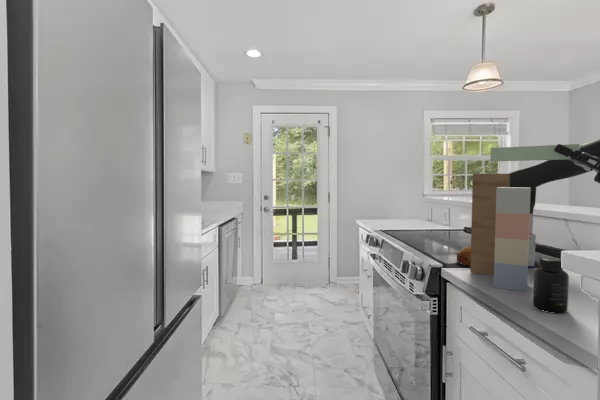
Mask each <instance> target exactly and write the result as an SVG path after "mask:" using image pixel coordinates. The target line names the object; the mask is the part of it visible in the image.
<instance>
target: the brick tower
mask: <svg viewBox="0 0 600 400" xmlns="http://www.w3.org/2000/svg"><path fill="white" fill-rule="evenodd" d="M530 190H531V187H498V188H496V222H495V257H494V275H493V288H499V289H507V290H514V291H520V292H521V291H522V292H527V290H528V274H529V271H528V270H529V268H528V249H529V219H530Z"/></svg>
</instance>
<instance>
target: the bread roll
mask: <svg viewBox="0 0 600 400" xmlns="http://www.w3.org/2000/svg"><path fill="white" fill-rule="evenodd" d="M457 262H458V263H462V264H464V265H463V266H465V265H468V266H467V267H471V245H469V246H464V247H462V248H461V249H460V250H459V251H457V253H456V263H457ZM458 263H457V264H458Z"/></svg>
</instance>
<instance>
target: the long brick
mask: <svg viewBox="0 0 600 400" xmlns="http://www.w3.org/2000/svg"><path fill="white" fill-rule="evenodd" d="M557 145H558V144H554V145H553V144H551V145H550V144H549V145H548V144H547V145H531V146H530V145H529V146H528V145H527V146H510V147H509V146H505V147H502V146H501V147H490V162H492V163H493V162H521V161H522V162H525V161H528V162H529V161H546V160H566V159H569V158H568V156H567V157H566V156H564V155H562V154H560V153H558V152H555V151H554V149H555V148H556V146H557ZM562 145H563V146H565V147H568V148H570V149H572V150H579V151H580V145H581V144H580V143H577V144H562ZM572 150H571V151H572ZM578 157H579V155H578V156H577V158H578Z"/></svg>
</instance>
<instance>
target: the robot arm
mask: <svg viewBox="0 0 600 400" xmlns="http://www.w3.org/2000/svg"><path fill="white" fill-rule="evenodd" d="M556 145H557V146H556V148H555V149H554V151H555V152H558V153H560V154H562V155H564V156H566V157H567V156H568V158H569V159H566V160H543V161H541V162H540V163H538V164H534V165H531V166H528V167H525V168H521V169H517V170H514V171H511V172H509V173H508V174H510V187H531V190H530V219H529V233H531V234H533V232H534V231H533V230H534V229H533V228H534V209H535V206H536V200H537V199H536V198H537V187H540V186H543V185H546V184H547V183H551V182H555V181H559V180H564V179H569V178H572V177H577V176H580V175H583V174H586V173H589V172H592V171H594V172H596V174H595V176H594V177H593V181H594V182H596V183H598V184H600V137H598V138H596V139H593V140H591V141H589V142H586V143H582V144H580V151H579V150H572V149H570V148H568V147H565V146H563V145H564V144H560V143H558V144H556ZM571 150H572V151H571ZM578 155H579V157H578V158H577V156H578Z"/></svg>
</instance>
